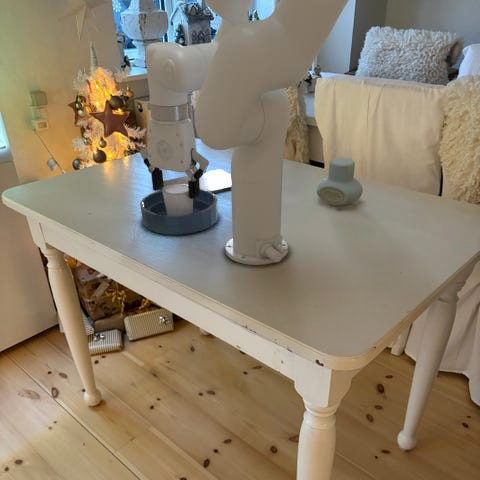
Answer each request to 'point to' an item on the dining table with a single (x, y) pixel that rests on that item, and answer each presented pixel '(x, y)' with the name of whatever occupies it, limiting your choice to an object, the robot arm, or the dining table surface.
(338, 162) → the air freshener
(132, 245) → the dining table surface
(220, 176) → the board
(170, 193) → the white cup
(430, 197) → the dining table surface
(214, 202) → the bowl
